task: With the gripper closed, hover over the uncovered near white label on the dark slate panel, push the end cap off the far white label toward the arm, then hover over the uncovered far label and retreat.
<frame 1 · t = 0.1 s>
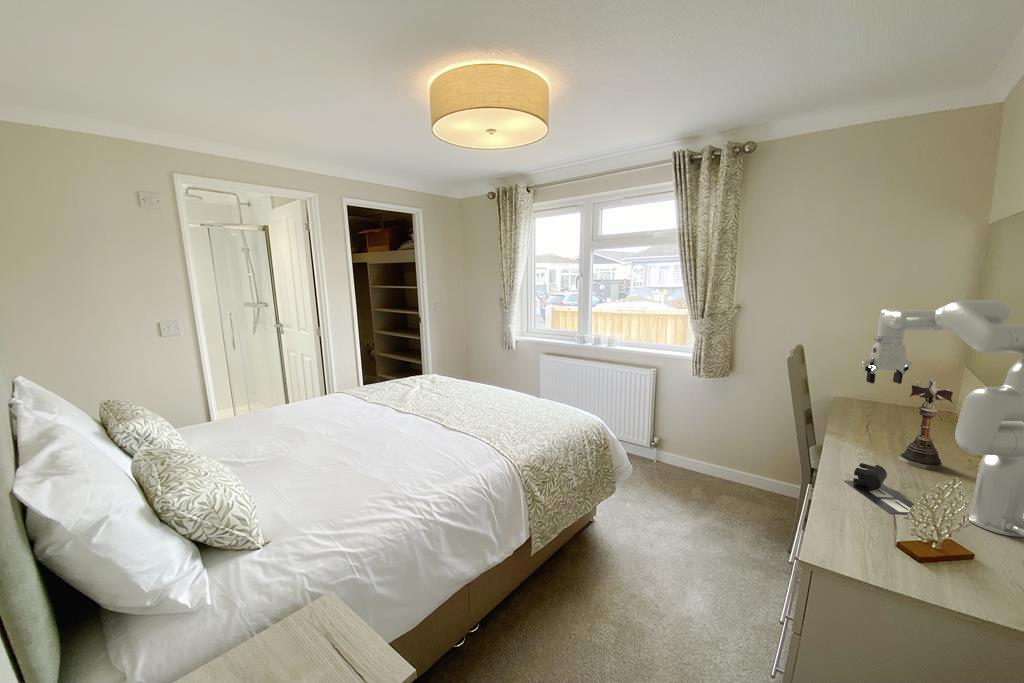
hand: (883, 382, 155), 31 cm above the table, tool pointing down, fingers open, 9 cm apart
far label: (873, 489, 136), on the table
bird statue: (917, 460, 156), on the table
near label: (898, 506, 126), on the table
end cap: (868, 486, 138), on the table, touching far label
label panel: (884, 496, 131), on the table
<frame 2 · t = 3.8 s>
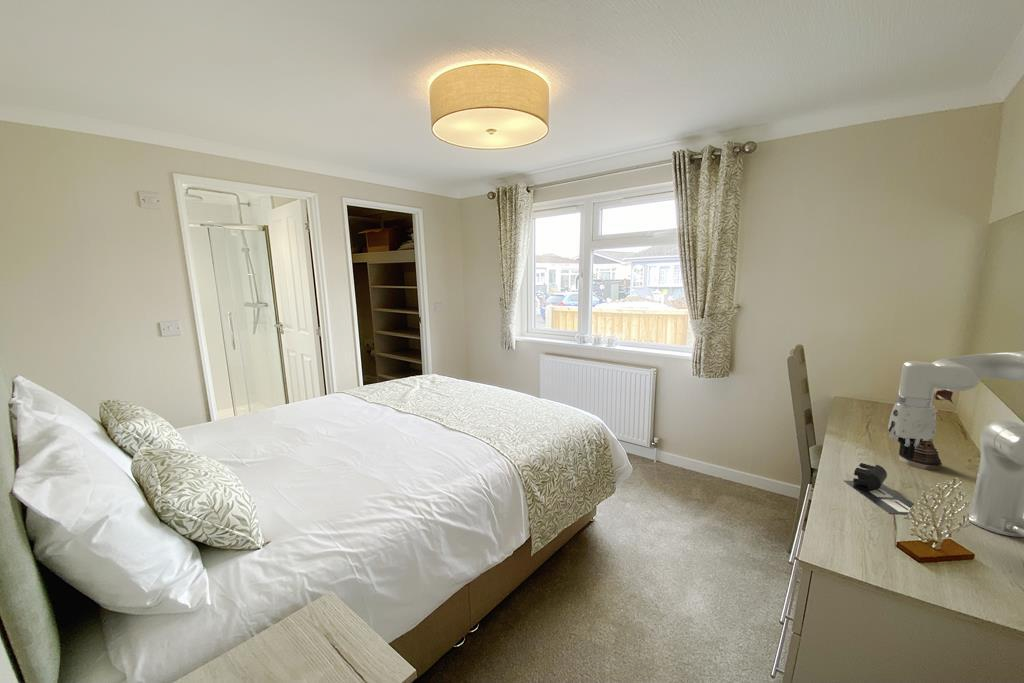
hand: (905, 456, 123), 17 cm above the table, tool pointing down, fingers closed
nothing on the table moved.
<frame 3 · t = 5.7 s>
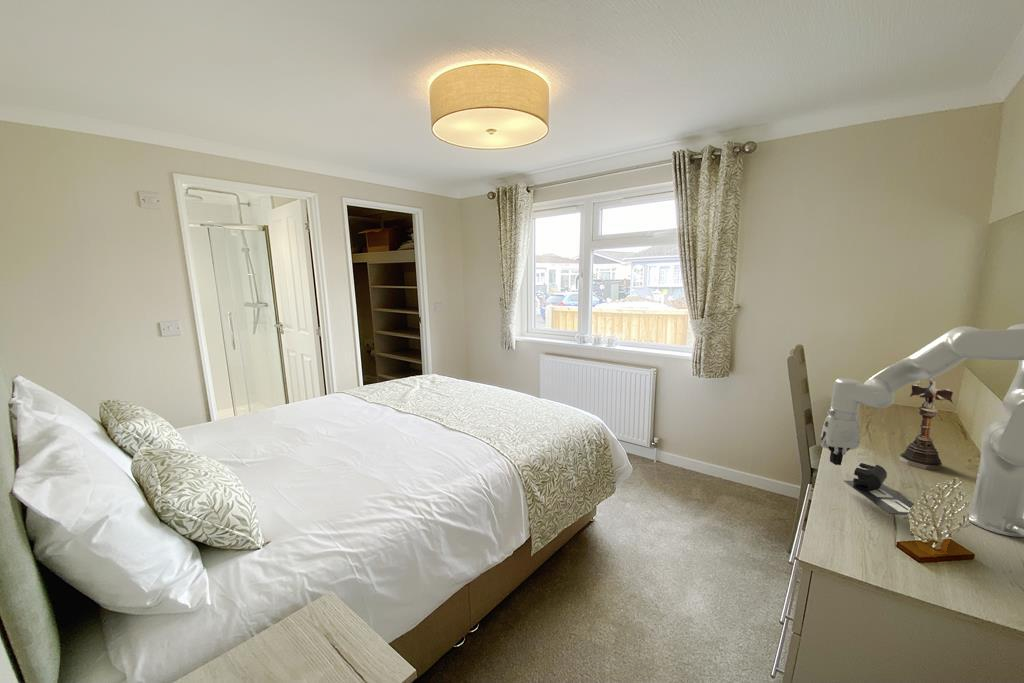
hand: (835, 463, 138), 8 cm above the table, tool pointing down, fingers closed
nothing on the table moved.
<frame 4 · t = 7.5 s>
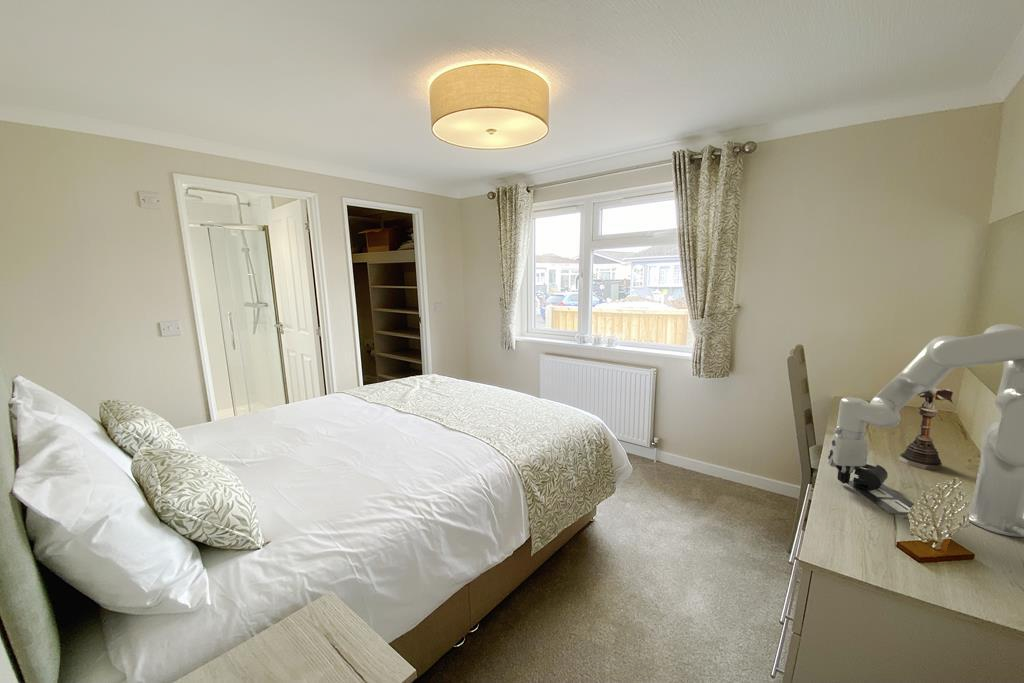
hand: (843, 481, 138), 1 cm above the table, tool pointing down, fingers closed
end cap: (869, 486, 138), on the table, touching gripper
everything else where it was.
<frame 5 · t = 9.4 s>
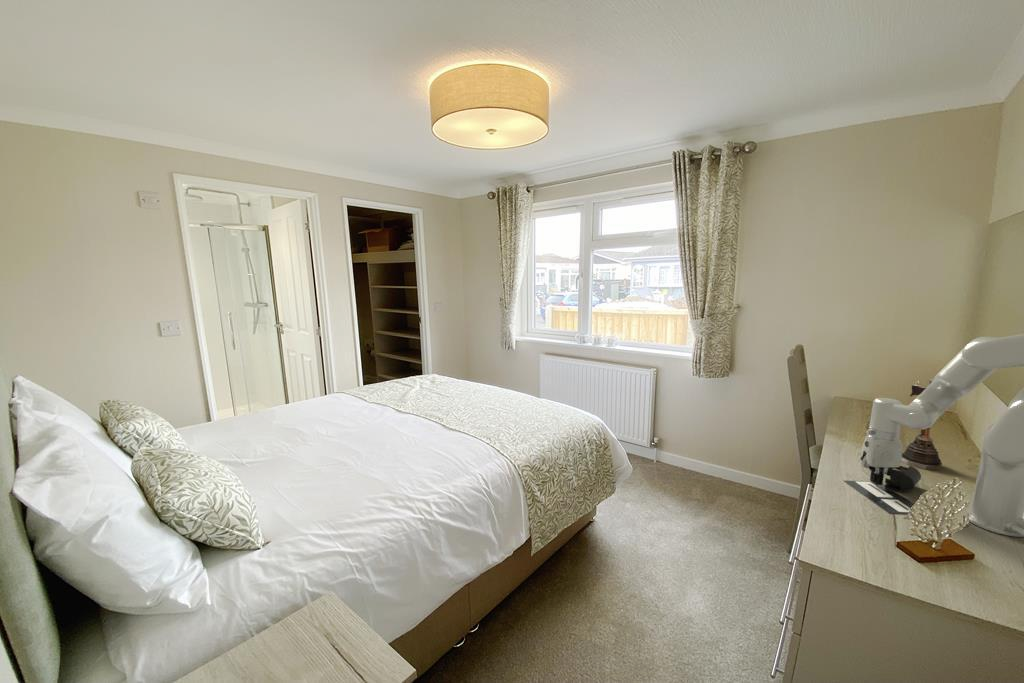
hand: (876, 482, 137), 1 cm above the table, tool pointing down, fingers closed
end cap: (901, 487, 137), on the table
everything else where it was.
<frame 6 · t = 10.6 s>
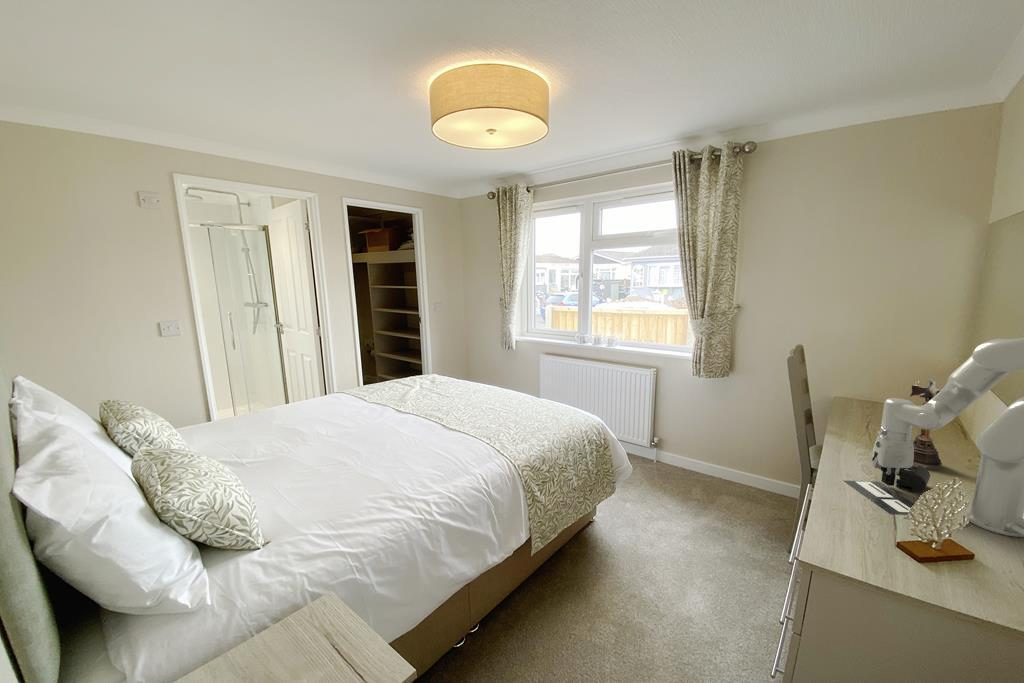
hand: (887, 483, 137), 1 cm above the table, tool pointing down, fingers closed
end cap: (911, 487, 137), on the table, touching gripper
everything else where it was.
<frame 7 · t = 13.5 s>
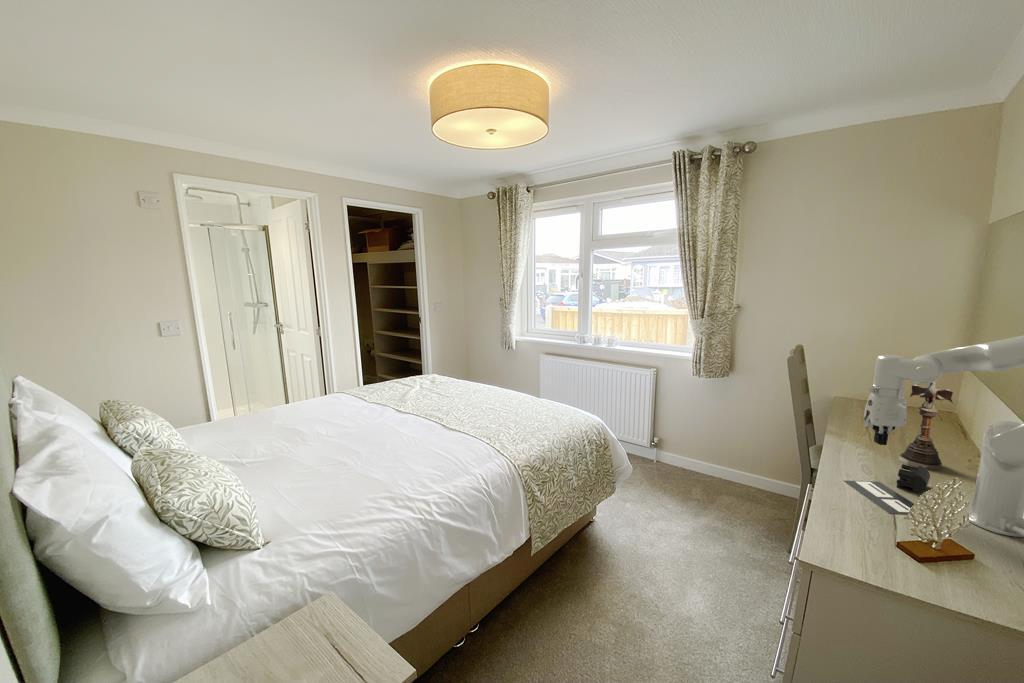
hand: (880, 443, 133), 17 cm above the table, tool pointing down, fingers closed
end cap: (912, 487, 137), on the table
everything else where it was.
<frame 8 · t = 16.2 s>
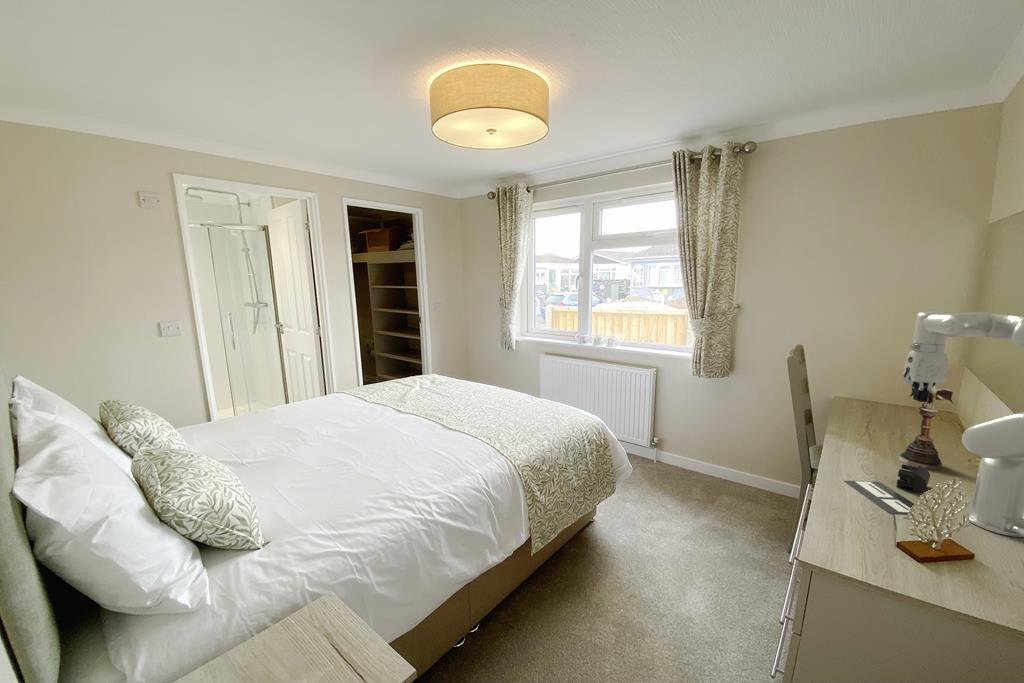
hand: (919, 400, 133), 31 cm above the table, tool pointing down, fingers closed
nothing on the table moved.
at the end: end cap touching table; end cap inside the target area (1.5 cm from its centre), on the table; end cap tilted 0° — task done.
